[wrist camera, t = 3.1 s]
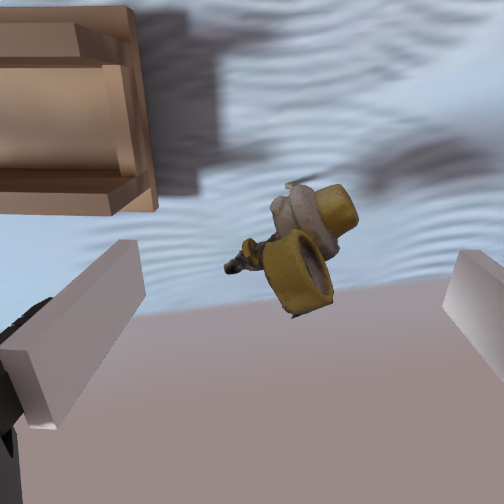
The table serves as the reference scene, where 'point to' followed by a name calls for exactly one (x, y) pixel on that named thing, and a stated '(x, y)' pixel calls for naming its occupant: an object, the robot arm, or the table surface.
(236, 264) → the regulator
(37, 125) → the stand
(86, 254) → the table surface
